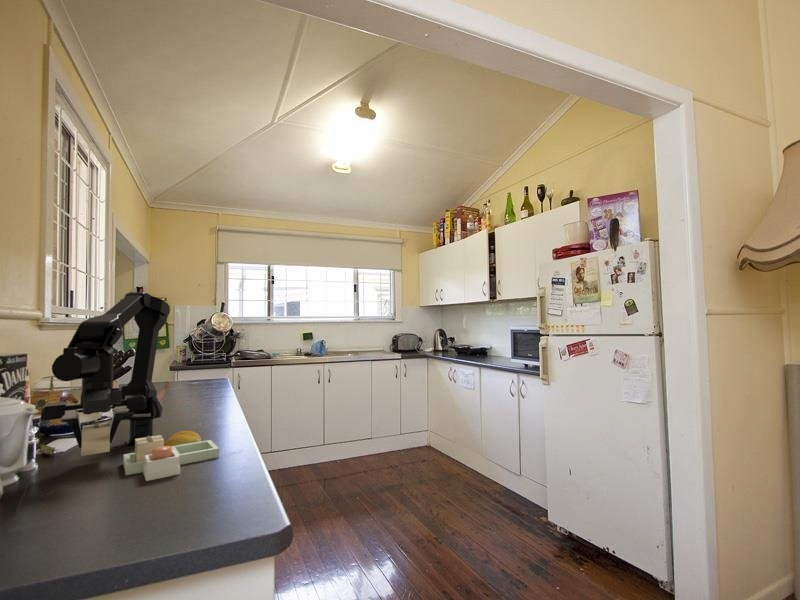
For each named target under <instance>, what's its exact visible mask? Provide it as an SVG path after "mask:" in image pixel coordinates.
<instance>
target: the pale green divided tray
mask: <svg viewBox="0 0 800 600" xmlns="http://www.w3.org/2000/svg"><path fill="white" fill-rule="evenodd" d="M171 447H172V451H173V450H175V451H176V452H177V454H178V455H179V465H180V466H181V465H185V464H190V463H195V462H196V463H197V462H201V461H207V460H212V459H216V458H220V447H218V445H217V444H216V443H214V442H213V440H211V439H208V440H203V441H202V440H201V442H195V443H189V444H183V445H177V446H171ZM122 461H123V463H122V464H123V468H124V474H125V476H129V475H135V474H139V473H143V465H145V461H139V462H135V452H130V453H125V454H123V460H122Z"/></svg>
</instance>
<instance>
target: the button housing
mask: <svg viewBox="0 0 800 600" xmlns="http://www.w3.org/2000/svg"><path fill="white" fill-rule="evenodd" d="M142 474H143V476H144V479H145V481H146V482H148V481H153V480H157V479H163V478H167V477H171V476H177V475H181V465H179V455H178V454H177V452H176V451H175V450H173V451H172V457H169V458H164V459H158V460H153V461H152V454H150V455H145V465H143V472H142Z"/></svg>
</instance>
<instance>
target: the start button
mask: <svg viewBox="0 0 800 600" xmlns="http://www.w3.org/2000/svg"><path fill="white" fill-rule="evenodd" d="M169 457H172V447H171V446H162V447H157V448H154V449H152V461H153V460H158V459H164V458H169Z"/></svg>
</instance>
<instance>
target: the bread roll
mask: <svg viewBox="0 0 800 600" xmlns="http://www.w3.org/2000/svg"><path fill="white" fill-rule="evenodd" d="M201 441H202V438H201V436H200V434H198V433H197V432H195V431H192V430H181V431H178V432H175V433H174V434H173V435H171V436H170V437H169V438H168V439H167V440H166V441H164V446H177V445H183V444H189V443H195V442H201Z"/></svg>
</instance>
